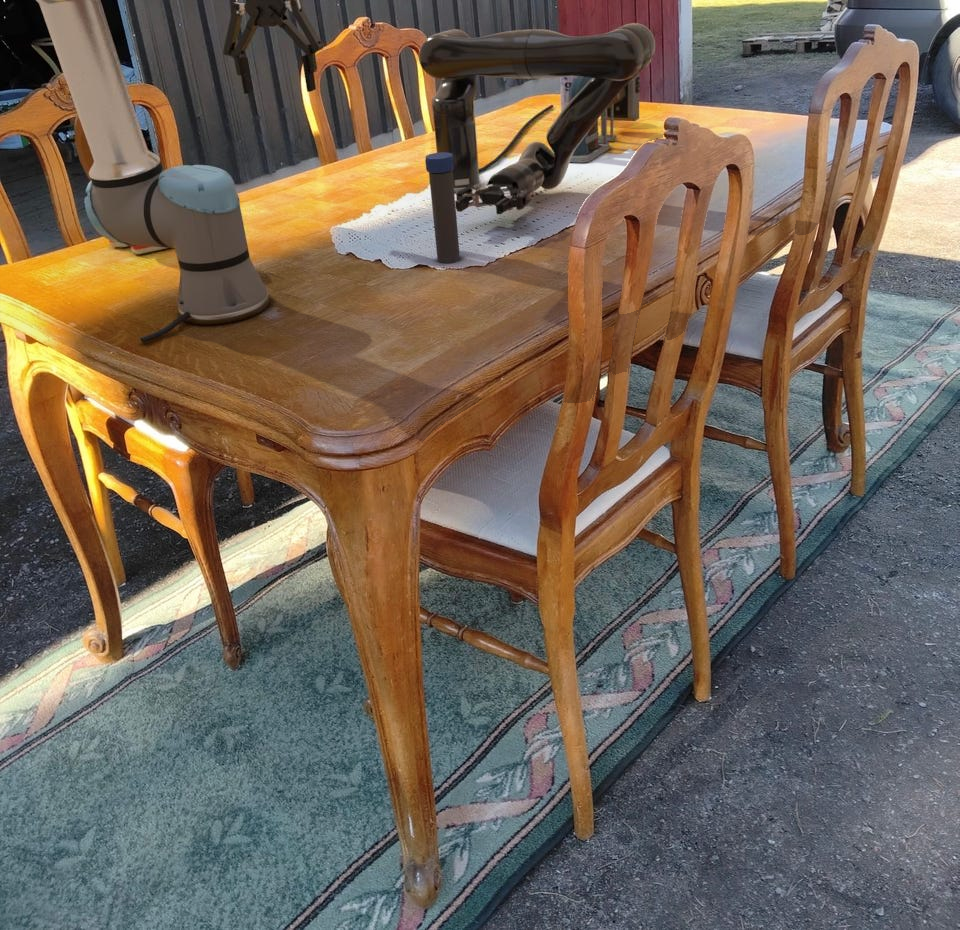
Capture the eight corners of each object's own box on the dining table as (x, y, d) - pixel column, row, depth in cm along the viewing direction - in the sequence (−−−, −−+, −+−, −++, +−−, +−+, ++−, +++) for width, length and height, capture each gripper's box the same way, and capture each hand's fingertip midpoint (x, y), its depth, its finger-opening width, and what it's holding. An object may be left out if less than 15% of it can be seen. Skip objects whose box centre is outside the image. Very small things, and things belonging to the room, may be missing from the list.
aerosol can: (559, 122, 275) (557, 47, 265) (562, 117, 282) (559, 42, 272) (587, 121, 274) (585, 45, 263) (589, 115, 280) (587, 41, 270)
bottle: (435, 257, 181) (425, 157, 172) (457, 254, 182) (448, 154, 173) (439, 264, 178) (429, 162, 168) (462, 261, 179) (453, 159, 169)
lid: (424, 168, 173) (422, 154, 172) (451, 164, 174) (450, 150, 173) (429, 174, 169) (427, 160, 168) (456, 171, 170) (455, 156, 169)
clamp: (587, 162, 233) (585, 68, 223) (554, 161, 237) (551, 68, 226) (639, 130, 259) (639, 44, 248) (608, 129, 263) (607, 44, 252)
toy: (192, 246, 198) (156, 92, 183) (148, 260, 192) (107, 102, 177) (139, 230, 212) (102, 85, 196) (96, 243, 205) (54, 95, 190)
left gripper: (329, -34, 182) (345, 86, 192) (210, -26, 188) (231, 90, 198) (314, -31, 175) (331, 93, 186) (191, -23, 181) (214, 96, 192)
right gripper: (479, 165, 199) (443, 186, 187) (543, 168, 194) (510, 190, 181) (482, 201, 203) (446, 224, 191) (544, 205, 197) (512, 229, 185)
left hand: (280, 91), depth 192 cm, fingers open, 13 cm apart
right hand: (477, 208), depth 186 cm, fingers open, 8 cm apart
